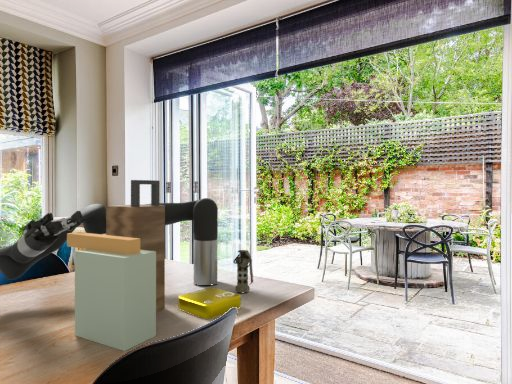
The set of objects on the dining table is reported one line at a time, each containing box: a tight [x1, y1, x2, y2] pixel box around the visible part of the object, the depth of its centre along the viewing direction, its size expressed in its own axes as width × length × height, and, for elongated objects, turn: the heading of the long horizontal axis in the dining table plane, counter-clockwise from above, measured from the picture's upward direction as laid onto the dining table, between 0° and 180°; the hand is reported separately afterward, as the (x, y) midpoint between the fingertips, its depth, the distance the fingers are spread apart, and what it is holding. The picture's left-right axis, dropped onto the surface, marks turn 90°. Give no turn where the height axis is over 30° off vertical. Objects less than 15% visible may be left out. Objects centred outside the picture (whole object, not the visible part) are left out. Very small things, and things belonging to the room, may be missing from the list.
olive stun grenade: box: [233, 249, 254, 293], centre depth 132 cm, size 6×7×15 cm
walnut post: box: [105, 203, 166, 312], centre depth 112 cm, size 12×12×32 cm
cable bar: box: [66, 231, 140, 255], centre depth 96 cm, size 24×4×4 cm, turn 61°
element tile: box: [177, 286, 242, 320], centre depth 116 cm, size 15×15×5 cm
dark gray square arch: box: [130, 179, 161, 207], centre depth 110 cm, size 2×10×8 cm, turn 151°
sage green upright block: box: [74, 249, 157, 352], centre depth 94 cm, size 18×10×22 cm, turn 61°
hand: (66, 214), depth 103 cm, fingers open, 8 cm apart
